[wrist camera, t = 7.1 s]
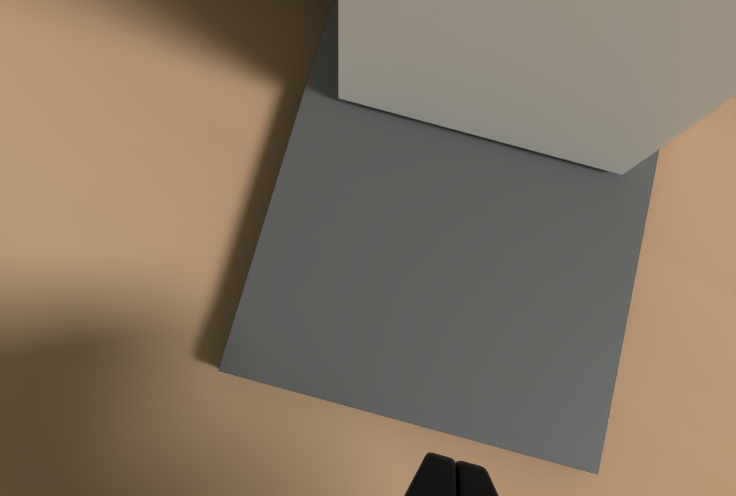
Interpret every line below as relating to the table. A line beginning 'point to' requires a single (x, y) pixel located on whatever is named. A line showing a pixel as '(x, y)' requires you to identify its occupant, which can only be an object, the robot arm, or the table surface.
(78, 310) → the table surface
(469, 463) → the robot arm
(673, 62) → the block
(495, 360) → the grey block
